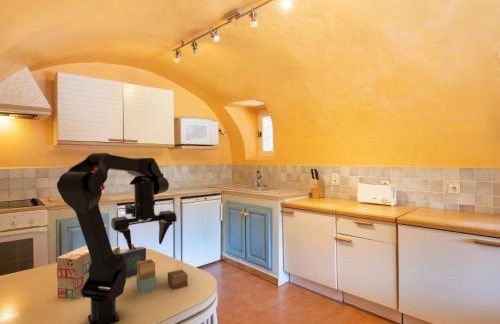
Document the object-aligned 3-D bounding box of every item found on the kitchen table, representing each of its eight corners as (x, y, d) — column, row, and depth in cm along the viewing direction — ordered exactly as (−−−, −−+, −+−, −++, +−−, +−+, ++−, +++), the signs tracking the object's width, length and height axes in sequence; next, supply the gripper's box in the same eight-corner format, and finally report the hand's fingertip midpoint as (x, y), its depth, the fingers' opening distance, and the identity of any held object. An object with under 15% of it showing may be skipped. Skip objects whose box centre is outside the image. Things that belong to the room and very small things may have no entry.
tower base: (156, 290, 93) (156, 277, 93) (140, 294, 90) (140, 281, 90) (151, 284, 97) (151, 272, 97) (136, 288, 94) (136, 275, 94)
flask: (120, 279, 100) (120, 248, 100) (117, 277, 102) (117, 246, 102) (147, 272, 106) (147, 242, 106) (143, 270, 109) (143, 241, 108)
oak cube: (155, 277, 93) (155, 263, 93) (140, 280, 90) (140, 266, 90) (151, 272, 96) (150, 259, 96) (137, 275, 94) (136, 261, 94)
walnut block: (187, 286, 95) (187, 274, 95) (172, 290, 93) (172, 277, 93) (181, 281, 99) (181, 269, 99) (167, 284, 97) (167, 272, 96)
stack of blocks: (105, 270, 108) (104, 237, 108) (120, 271, 107) (120, 238, 107) (57, 298, 87) (56, 256, 87) (75, 300, 86) (75, 258, 86)
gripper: (165, 191, 104) (166, 235, 105) (107, 197, 94) (108, 245, 95) (176, 196, 95) (177, 243, 96) (114, 202, 85) (115, 256, 85)
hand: (145, 246), depth 93 cm, fingers open, 9 cm apart
